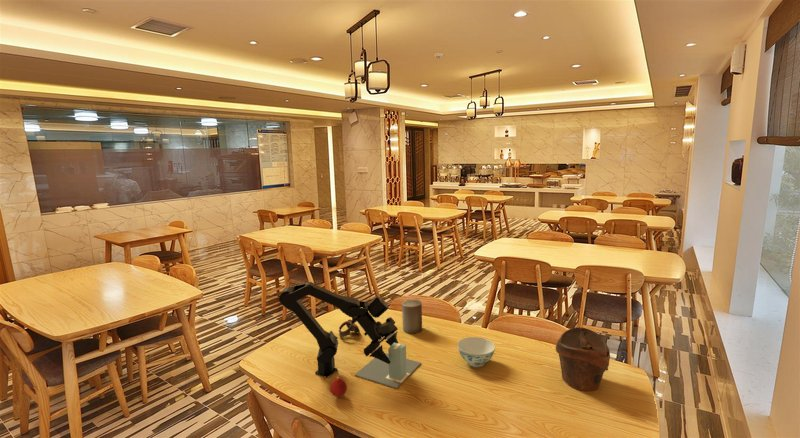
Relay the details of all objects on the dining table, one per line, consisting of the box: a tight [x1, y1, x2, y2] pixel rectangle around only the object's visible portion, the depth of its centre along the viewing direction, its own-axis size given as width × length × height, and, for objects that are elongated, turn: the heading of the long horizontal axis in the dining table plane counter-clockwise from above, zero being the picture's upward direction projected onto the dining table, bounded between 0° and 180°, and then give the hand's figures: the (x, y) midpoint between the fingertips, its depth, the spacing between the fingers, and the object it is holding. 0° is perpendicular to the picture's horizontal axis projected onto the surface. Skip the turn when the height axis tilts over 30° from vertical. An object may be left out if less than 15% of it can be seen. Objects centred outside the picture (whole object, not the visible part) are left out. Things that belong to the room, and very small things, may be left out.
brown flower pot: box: [555, 327, 611, 392], centre depth 146 cm, size 18×20×18 cm
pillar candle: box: [401, 298, 423, 334], centre depth 194 cm, size 10×10×15 cm
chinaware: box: [457, 336, 496, 368], centre depth 162 cm, size 15×15×8 cm
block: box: [387, 342, 407, 380], centre depth 152 cm, size 5×5×12 cm
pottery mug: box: [338, 318, 361, 338], centre depth 190 cm, size 12×10×8 cm
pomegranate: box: [329, 376, 348, 399], centre depth 140 cm, size 6×6×8 cm
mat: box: [354, 352, 422, 390], centre depth 159 cm, size 20×19×1 cm
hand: (395, 357), depth 152 cm, fingers open, 9 cm apart
